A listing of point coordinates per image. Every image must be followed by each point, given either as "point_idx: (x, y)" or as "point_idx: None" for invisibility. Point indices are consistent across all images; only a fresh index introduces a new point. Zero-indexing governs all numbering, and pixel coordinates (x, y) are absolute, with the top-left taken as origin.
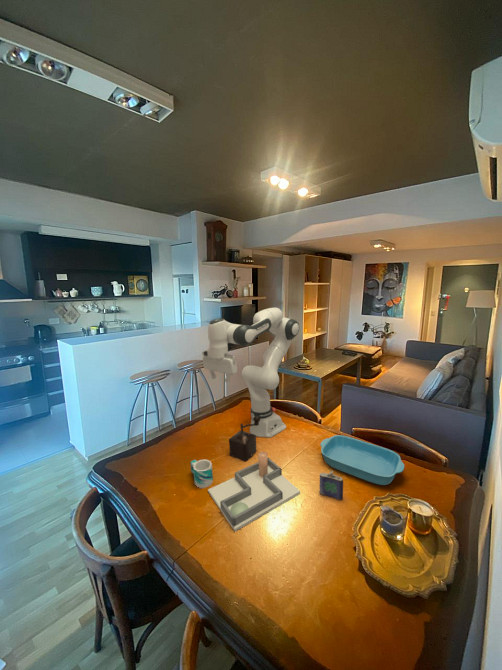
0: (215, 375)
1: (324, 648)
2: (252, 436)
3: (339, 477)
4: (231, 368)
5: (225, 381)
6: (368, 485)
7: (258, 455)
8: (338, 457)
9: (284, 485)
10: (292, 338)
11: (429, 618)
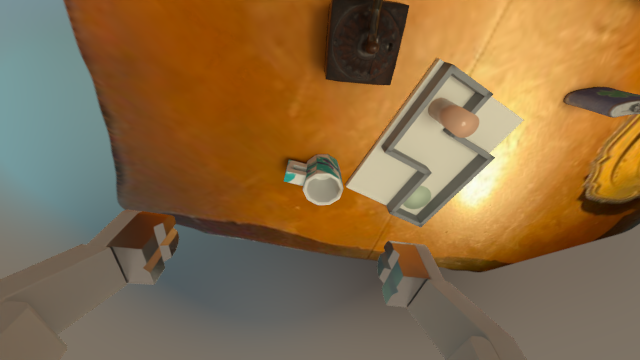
0: (149, 247)
1: (519, 257)
2: (399, 23)
3: None
4: None
5: (382, 272)
6: None
7: (453, 133)
8: None
9: (490, 119)
10: None
11: (632, 212)
